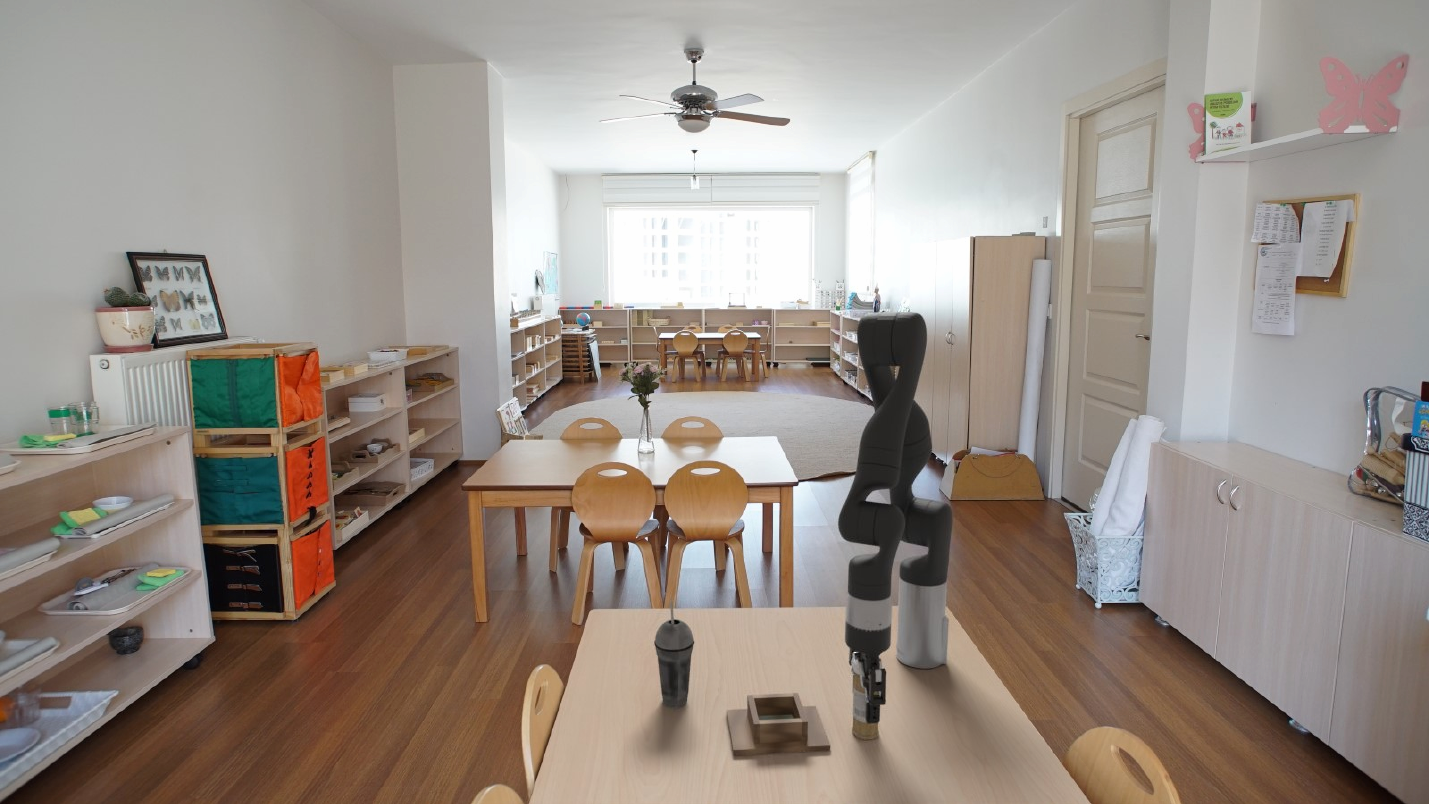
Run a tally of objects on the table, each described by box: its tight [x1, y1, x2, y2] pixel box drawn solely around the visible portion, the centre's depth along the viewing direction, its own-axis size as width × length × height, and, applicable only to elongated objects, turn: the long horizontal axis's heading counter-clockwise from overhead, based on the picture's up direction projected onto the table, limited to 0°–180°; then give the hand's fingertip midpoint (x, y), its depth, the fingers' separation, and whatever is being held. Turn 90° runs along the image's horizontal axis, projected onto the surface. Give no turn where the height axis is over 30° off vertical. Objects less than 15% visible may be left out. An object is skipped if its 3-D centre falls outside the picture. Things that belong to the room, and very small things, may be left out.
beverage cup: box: [653, 599, 695, 708], centre depth 146 cm, size 7×7×20 cm
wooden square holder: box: [726, 692, 831, 757], centre depth 137 cm, size 16×12×4 cm
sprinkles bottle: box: [851, 658, 879, 740], centre depth 136 cm, size 5×5×14 cm
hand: (865, 708), depth 136 cm, fingers open, 8 cm apart
